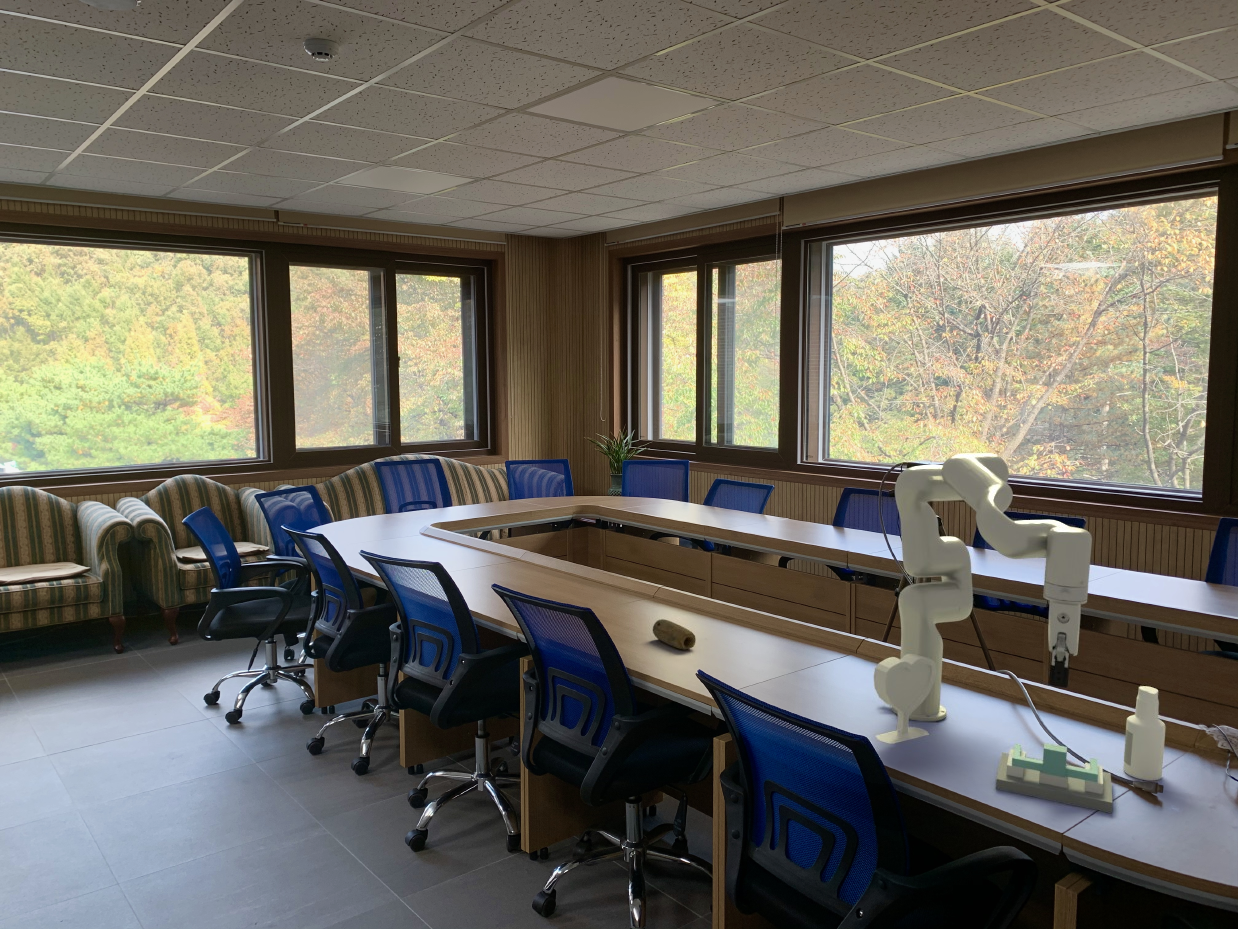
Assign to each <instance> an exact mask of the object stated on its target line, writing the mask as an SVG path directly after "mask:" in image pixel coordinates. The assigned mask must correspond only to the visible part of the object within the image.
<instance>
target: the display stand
mask: <svg viewBox="0 0 1238 929" xmlns="http://www.w3.org/2000/svg"><path fill="white" fill-rule="evenodd" d="M1013 752H1014V748H1011V747H1010V748H1009V752H1008V753H1007V752H1002V753H1001V756H1000V760H999V765H998V769H997V775H996V779H995V789H996V790H1001V791H1006V792H1010V793H1016V794H1020V795H1024V796H1029V797H1035V798H1039V799H1044V800H1049V801H1053V802H1058V803H1062V804H1068V805H1072V806H1076V807H1082V808H1085V809H1091V810H1096V811H1100V812H1106V813H1110V814H1112V813H1113V792H1112V791H1113V790H1112V789H1113V788H1112V777H1111V776H1112V774H1111V773H1110V772H1106V771H1104V770H1103V765H1099V764H1097V766H1098V782H1092V781H1087V780H1082V779H1077V778H1071V777H1066V776H1065V778H1064V777H1059V776H1054V775H1049V774H1044V773H1042V772H1041V771H1036V770H1031V769H1026V768H1021V767H1016V766H1012V756H1013ZM1020 756H1021V757H1026V758H1031V759H1035V758H1032V757H1028V756H1027V751H1026V750H1022V749H1021V754H1020ZM1036 759H1037V760H1040V759H1038V758H1036ZM1041 760H1042V761H1043V759H1041ZM1067 765H1068V766H1071V765H1070V764H1067ZM1072 766H1073V767H1076V766H1075V765H1072ZM1077 767H1078V768H1081V767H1080V766H1077ZM1082 768H1083V769H1089V770H1090V762H1089V763H1088V762H1085V764H1084V767H1082Z"/></svg>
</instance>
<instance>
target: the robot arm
mask: <svg viewBox="0 0 1238 929" xmlns="http://www.w3.org/2000/svg"><path fill="white" fill-rule="evenodd" d="M1009 470H1010V469H1009V468H1008V464H1007V463H1006V461H1005V460H1004V459H1003V458H1002V457H1000V456H999V455H997V454H995V453H990V452H989V453H988V452H987V453H986V452H984V453H983V452H981V453H979V452H978V453H958V454H954V455H952V456H950V457H948V458H946V460H945V461H944V462H943V464H924V465H916V466H911V467H909V468H906V469H904V470H903V471H901V473H899V475H898V477H897V480H896V483H895V486H894V496H895V497H894V498H895V501H896V506H897V510H898V514H899V519H900V534H901V549H902V550H901V552H902V555H901V556H902V562H903V563H902V564H903V568H904V570H905V572H906V573H907V575H908V576H911V577H915V578H935V577H941V581H938V582H935V581H933V582H919V583H914V584H910V585H907V586H906V587H904V588H903V589H902V590H901V591H900V593H899V595H898V602H897V603H898V610H899V616H900V630H901V633H900V634H901V635H900V636H901V639H900V658H899V659H901V658H903V657H904V656H905V655H906V654H917V655H920V656H923V657H926V658H929V659H931V660H933V661H934V662H935V664H936V675H935V681H934V684H933V686H932V688H931V691H930V693H929V694H928V696H927V697H926V698H925V700H924V701H923V702H922V703H921V704H920V705H919V706H918V707H917V708H916V709H915V710H914V711H913V712H912V713H911V715H910V716H909V720H911V721H912V720H913V721H918V722H937V721H941V720H944V719H946V717H947V712H948V711H947V709H946V707H945V706H943V705H942V704H941V694H942V693H941V690H942V671H943V656H944V655H943V654H944V652H943V650H944V643H943V639H942V636H941V633H940V632H939V630H938V629H937V626H936V624H938V623H939V624H940V623H949V622H950V623H951V622H959V621H962V620H965V619H967V618H968V617H969V616H970V615H971V612H972V609H973V606H974V605H973V604H974V596H973V595H974V593H973V578H972V575H973V573H972V562H971V555H970V552H969V548H968V547H967V545H966V544H965V542H964V541H963V540H961V539H960V538H958V537H956V536H946V535H945V536H940V533H939V532H940V531H939V521H938V517H937V514H936V513H935V511H934V509H933V508H932V506H931V505H930V504H929V503H928V502H944V501H945V502H949V501H964V502H965V503H966V504H968V505H969V506H970V507H971V508H972V509H973V510H974V511H975V512H976V514H975V520H976V526H977V528H978V531H979V533H980V535H981V538H983V540H984V541H985V542H987V544H989V545H990V546H991V548H993V549H994V550H996V551H997V553H998V554H1000V555H1002V556H1003V557H1004V558H1005V557H1006V558H1008V559H1012V560H1024V559H1025V560H1026V559H1045V565H1044V567H1045V568H1044V580H1043V581H1044V582H1043V595H1042V596H1043V598H1044V599H1046V600H1047V601H1049V608H1048V609H1049V610H1048V626H1047V627H1048V631H1047V632H1048V633H1047V634H1048V637H1047V638H1048V650H1049V652H1051V657H1050V664H1049V674H1048V685H1049V686H1052V687H1053V686H1054V687H1058V688H1062V689H1063V688H1064V689H1067V688H1068V687H1069V686H1068V685H1069V676H1070V674H1069V672H1070V659H1071V658H1070V657H1071V655H1070V654H1072V655H1073V657H1075V656H1077V655H1078V650H1079V639H1080V638H1079V637H1080V626H1081V610H1082V609H1081V608H1082V605H1084V604H1087V602H1088V596H1089V594H1088V593H1089V582H1090V567H1091V555H1092V554H1091V553H1092V541H1093V539H1092V538H1093V537H1092V534H1091V533H1090V532H1089V531H1088V530H1086V529H1084V528H1081V527H1080V528H1079V527H1075V526H1069V525H1067V524H1065V523H1063V522H1061V521H1058V520H1055V519H1030V520H1029V519H1028V520H1013V519H1011V518H1010V517H1008V516H1007V515H1006V514H1005V513H1004V512H1005V511H1006V510H1007V509H1008V508H1009V506H1010V505H1011V503H1012V501H1013V495H1014V494H1013V490H1012V488H1011V486H1010V485H1009V484H1008V480H1009V477H1010V471H1009ZM891 710H892V712H893V713H895V715H897V716H898V711H897V710H896V709H895V708H893V707H892V706H891Z"/></svg>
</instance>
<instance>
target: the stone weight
mask: <svg viewBox="0 0 1238 929" xmlns="http://www.w3.org/2000/svg"><path fill="white" fill-rule="evenodd" d="M652 634H653V635H654V636H655V638H656V639H658V640H659V641H661V642H663V643H665V644H666V645H669V646H670V647H672V648H676V649H679V650H688V649H692V648H694V647H695V645H696V640H697V638H696V635H695V634H694V633H693V632H692V631H691V630H690V629H688V628H686V627H684V626H682V625H680V624H677V623H675V622H673V621H670V620H668V619H663V618H662V619H658V620H656V621H655V622H654V624H653V625H652Z"/></svg>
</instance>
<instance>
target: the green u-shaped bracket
mask: <svg viewBox="0 0 1238 929" xmlns="http://www.w3.org/2000/svg"><path fill="white" fill-rule="evenodd" d="M1013 749H1014V752H1013V756H1012V766H1016V767H1021V768H1026V769H1031V770H1036V771H1041V772H1042V773H1044V774H1049V775H1054V776H1059V777H1064V778H1065V776H1066V777H1071V778H1077V779H1082V780H1087V781H1092V782H1098V766H1097V765H1098V759H1097V758H1093V757H1090V759H1089V760H1090V761H1089V763H1090V770H1089V769H1083V768H1084V767H1080V768H1078V767H1079V766H1075V767H1073V766H1074V765H1070V766H1068V765H1069V764H1067V755H1068V747H1067V746H1063V745H1058V744H1053V743H1046V742H1044V743H1043V754H1042V759H1039V760H1037V759H1038V758H1034V759H1031V758H1032V757H1029V758H1026V757H1027V756H1026V757H1021V756H1020V754H1021V750H1022V744H1020V743H1019V744H1018V743H1014V746H1013ZM1042 760H1043V761H1042Z"/></svg>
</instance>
